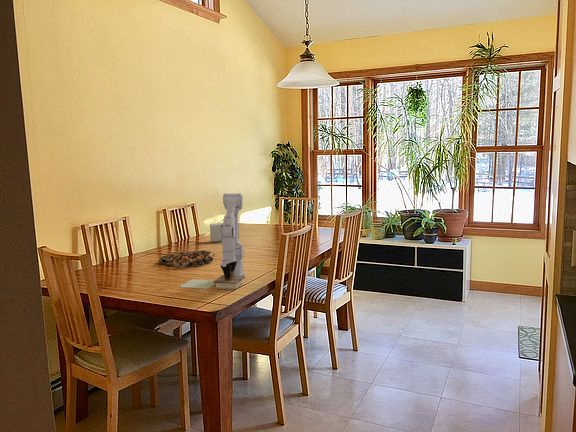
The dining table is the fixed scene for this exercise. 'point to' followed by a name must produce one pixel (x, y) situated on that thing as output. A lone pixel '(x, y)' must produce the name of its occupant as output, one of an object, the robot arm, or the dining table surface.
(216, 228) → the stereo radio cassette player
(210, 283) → the beige flat square piece
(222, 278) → the lid
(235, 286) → the white square tray
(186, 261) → the food dish
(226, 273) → the robot arm
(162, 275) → the dining table surface
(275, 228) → the dining table surface
